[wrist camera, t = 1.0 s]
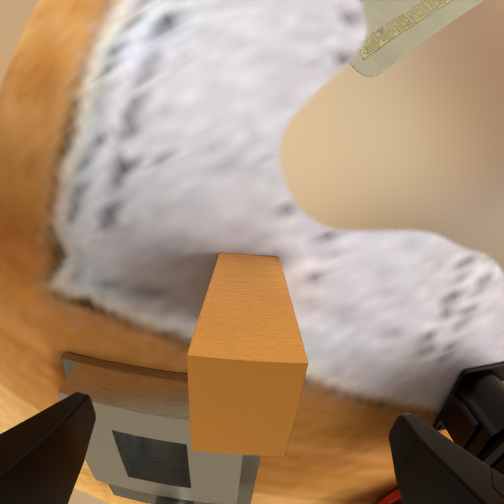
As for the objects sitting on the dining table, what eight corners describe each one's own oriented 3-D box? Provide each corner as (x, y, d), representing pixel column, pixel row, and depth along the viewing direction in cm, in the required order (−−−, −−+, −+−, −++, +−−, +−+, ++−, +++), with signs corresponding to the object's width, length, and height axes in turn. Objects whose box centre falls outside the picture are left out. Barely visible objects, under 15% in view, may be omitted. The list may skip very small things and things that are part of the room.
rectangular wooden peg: (278, 257, 16) (308, 363, 7) (270, 325, 17) (284, 455, 9) (219, 252, 16) (187, 355, 7) (216, 321, 17) (191, 450, 8)
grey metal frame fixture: (280, 381, 18) (294, 494, 10) (253, 510, 24) (253, 576, 16) (66, 351, 18) (3, 431, 10) (116, 490, 23) (97, 549, 15)
